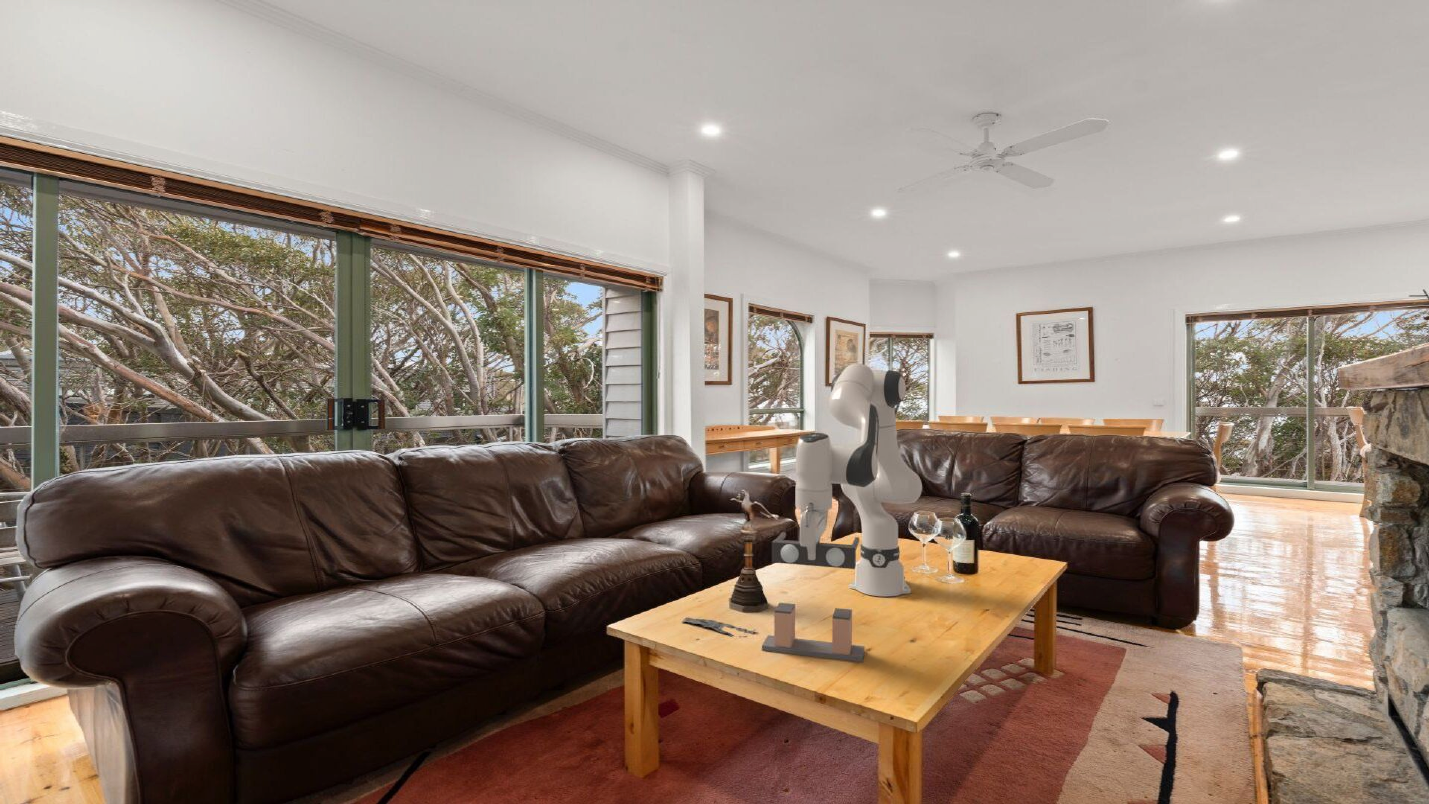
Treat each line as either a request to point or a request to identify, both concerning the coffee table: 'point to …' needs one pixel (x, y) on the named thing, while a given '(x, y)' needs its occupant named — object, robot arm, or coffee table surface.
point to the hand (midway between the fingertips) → (813, 557)
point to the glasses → (824, 553)
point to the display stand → (832, 650)
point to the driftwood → (716, 625)
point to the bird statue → (749, 560)
